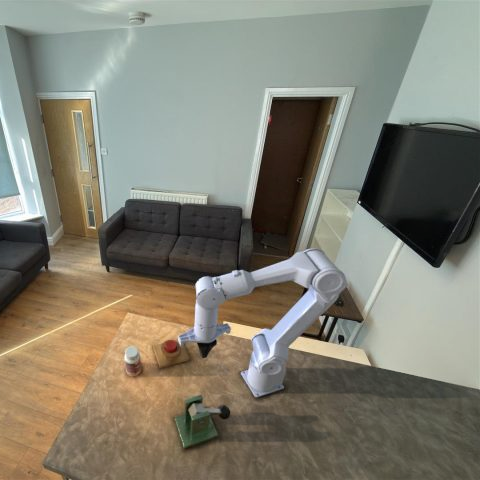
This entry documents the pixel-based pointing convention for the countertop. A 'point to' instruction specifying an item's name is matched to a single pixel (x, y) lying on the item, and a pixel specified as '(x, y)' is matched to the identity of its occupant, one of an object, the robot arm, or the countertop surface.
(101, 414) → the countertop surface
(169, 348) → the button
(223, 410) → the lever
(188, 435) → the bracket
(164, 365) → the button block
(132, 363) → the pill bottle
